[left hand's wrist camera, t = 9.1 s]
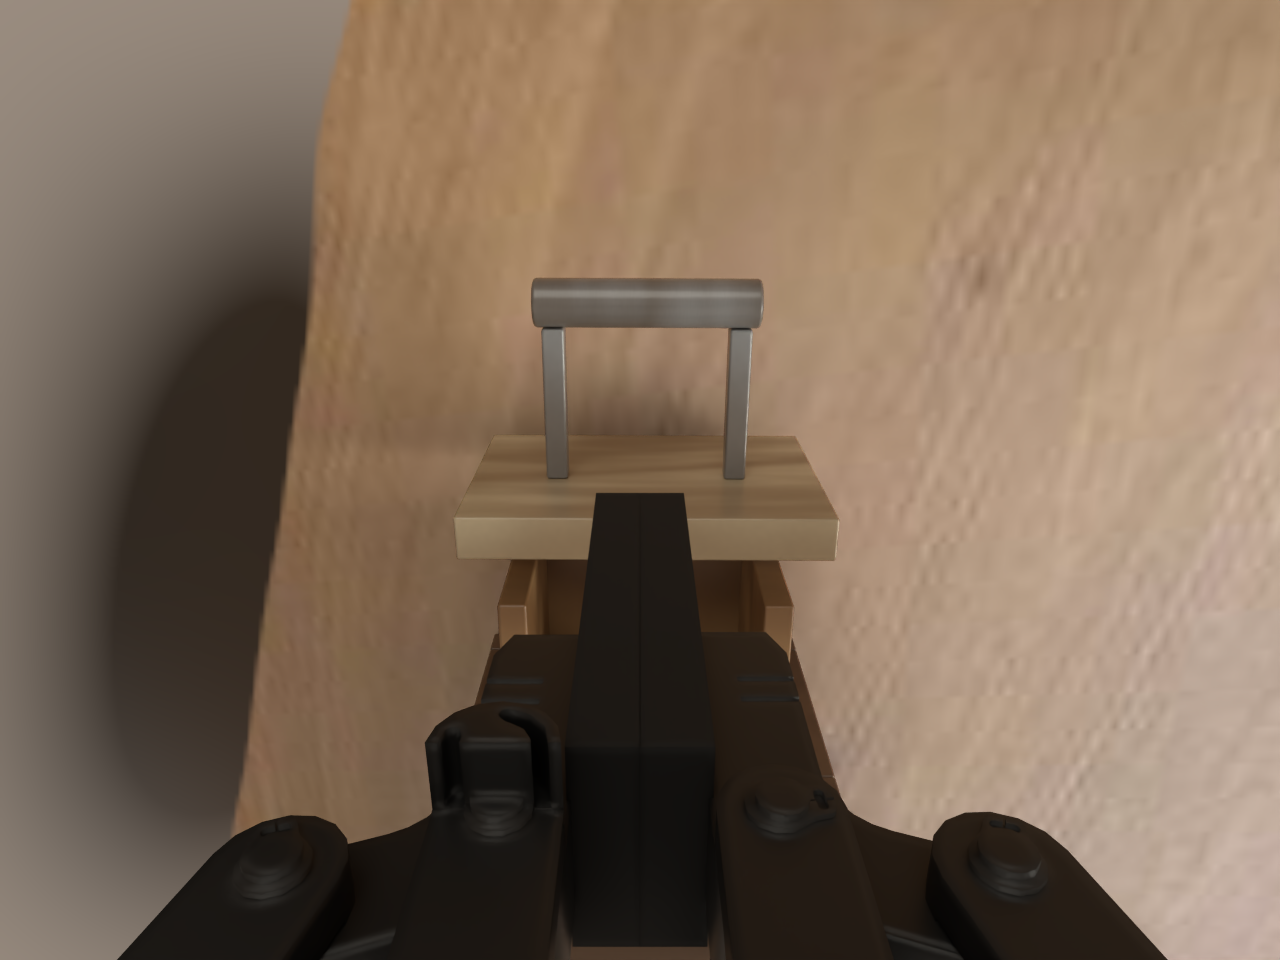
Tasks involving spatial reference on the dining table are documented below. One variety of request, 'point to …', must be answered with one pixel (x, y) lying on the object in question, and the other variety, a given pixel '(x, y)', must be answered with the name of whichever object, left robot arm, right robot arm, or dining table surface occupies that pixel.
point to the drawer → (647, 474)
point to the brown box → (700, 956)
